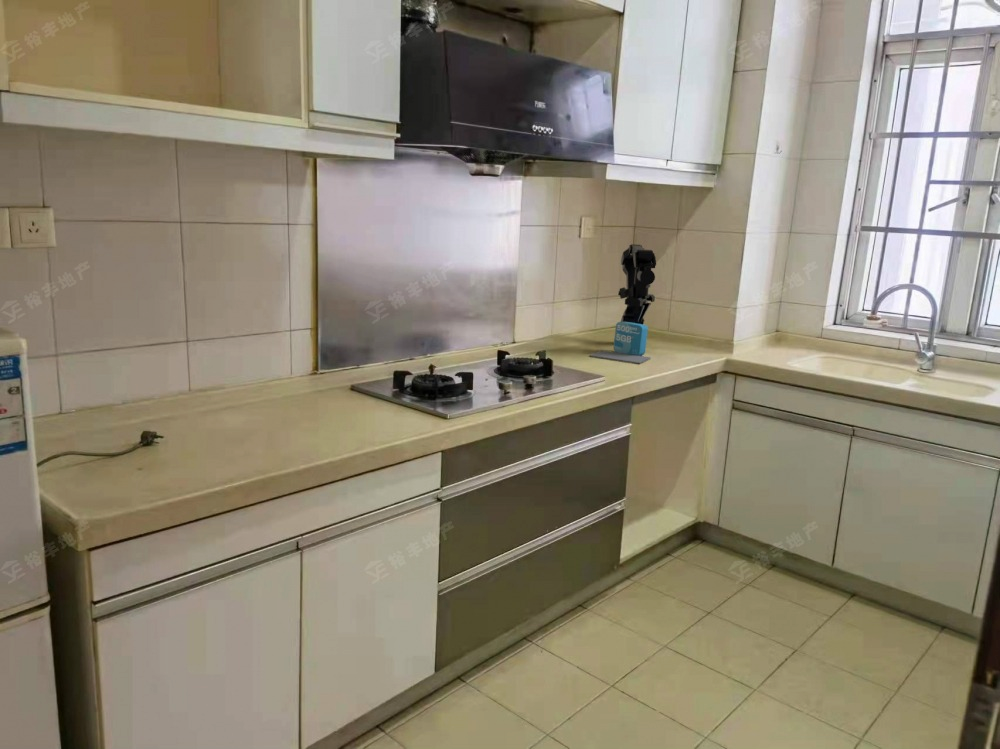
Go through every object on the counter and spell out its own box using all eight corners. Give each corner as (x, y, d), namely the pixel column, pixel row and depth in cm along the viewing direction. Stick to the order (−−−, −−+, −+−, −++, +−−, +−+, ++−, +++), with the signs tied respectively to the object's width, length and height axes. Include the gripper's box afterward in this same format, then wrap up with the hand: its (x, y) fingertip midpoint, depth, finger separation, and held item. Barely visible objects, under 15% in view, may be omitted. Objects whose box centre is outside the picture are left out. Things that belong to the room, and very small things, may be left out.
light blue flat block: (612, 351, 296) (616, 321, 293) (619, 350, 299) (622, 320, 297) (638, 356, 288) (642, 325, 286) (645, 355, 291) (648, 325, 289)
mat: (601, 351, 295) (601, 350, 295) (650, 359, 286) (650, 357, 286) (589, 356, 285) (589, 355, 285) (639, 364, 276) (640, 362, 276)
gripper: (630, 278, 306) (627, 316, 309) (613, 281, 290) (610, 321, 293) (656, 280, 300) (653, 319, 304) (641, 284, 285) (637, 325, 288)
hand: (638, 321), depth 298 cm, fingers open, 4 cm apart
